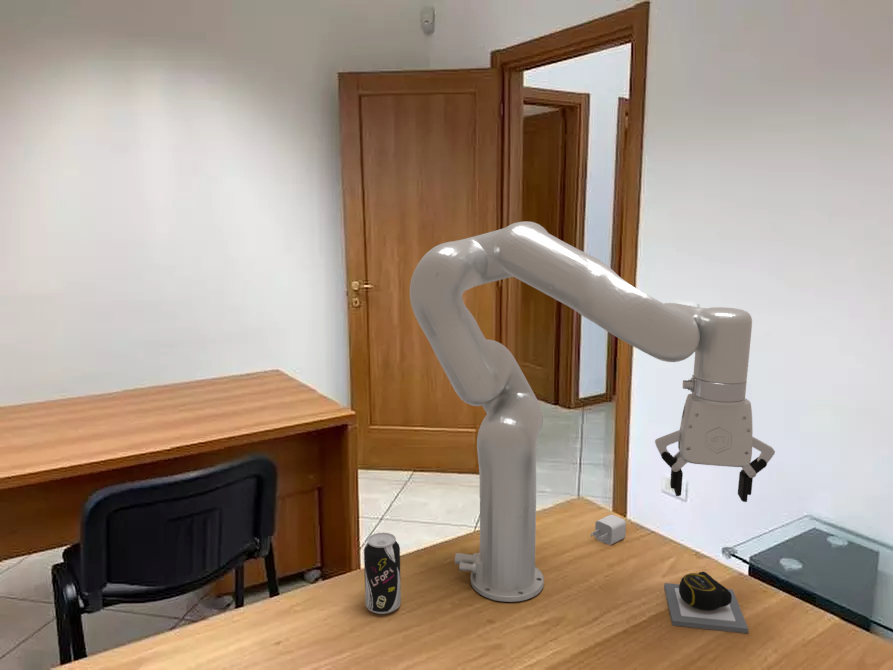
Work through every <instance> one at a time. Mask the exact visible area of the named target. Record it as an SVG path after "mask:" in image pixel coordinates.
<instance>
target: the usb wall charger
mask: <svg viewBox="0 0 893 670" xmlns="http://www.w3.org/2000/svg"><path fill="white" fill-rule="evenodd" d="M594 524H595V529H594V531H592V532H591V533H590V537H592V538H593V537H595V539H596V540H597V541H599V542H601V543H604V544H606V545H609V546H611V545H613V544H615V543H617V542H619V541H621V540H623V539H625V538H626V534H627V533H626V529H627V528H626V526H627V522H626V520H625V519H624V518H621V517H619V516H617V515H614V514H609V515H607V516H604V517H603V518H601V519H598V520H596V521H595V523H594Z"/></svg>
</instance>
